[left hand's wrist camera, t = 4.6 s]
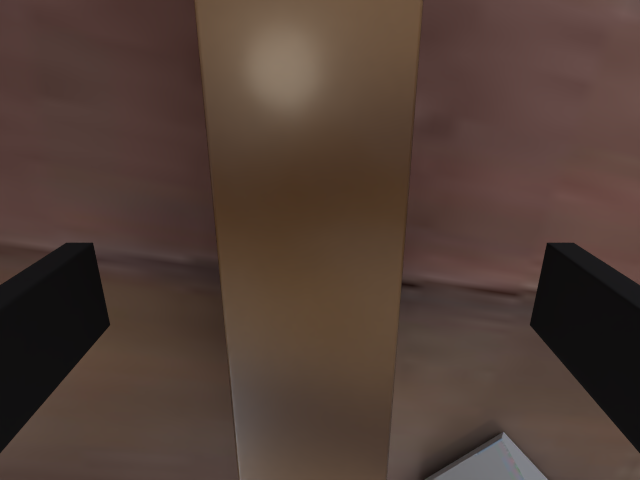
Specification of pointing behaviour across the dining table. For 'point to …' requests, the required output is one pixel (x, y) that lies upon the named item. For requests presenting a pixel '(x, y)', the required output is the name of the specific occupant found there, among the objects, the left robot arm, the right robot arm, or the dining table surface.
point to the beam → (310, 222)
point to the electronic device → (491, 463)
